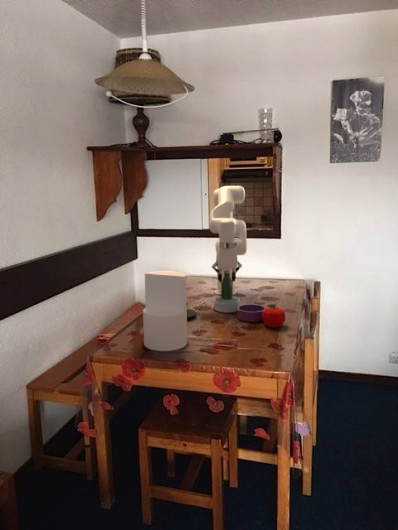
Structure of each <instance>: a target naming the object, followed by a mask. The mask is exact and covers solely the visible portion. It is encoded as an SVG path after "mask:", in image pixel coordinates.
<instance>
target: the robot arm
mask: <svg viewBox="0 0 398 530" xmlns="http://www.w3.org/2000/svg"><path fill="white" fill-rule="evenodd" d="M212 198H213V204H214V208H213V209H212V210H211V212H210V215H209V231H210V232H211V233H213V234H218V239H217V240H216V241H215V244H214V245H215V253H216V257H215V262H214V263H213V264H212V265H211V269H212V270H214V271H215V272H216V289H215V290H214V294H215V295H216V296H221V282H222V280H223V277H224V271H225V270H228V271H230V278H231V280H233V296H234V295H236V294H237V293H238V292H237V290H236V288H239V284H238V283H236V284H235V282H236V279H237V273H238V272H239V270H240V269H241V268H242V267H243V264H242V263H241V262H240V261H238V256H245V255H246V253H247V251H248V250H247V249H248V242H247V241H248V240H247V238H248V237H247V225H246V222H245V221H244V220H242V219H236V218H234V213H233V211H234V210H235V204H242V203H243V202H244V201H245V199H246V191H245V187H243V186H241V185H224V186H221V187H219V188H217V189H215V190H214V191H213V193H212Z"/></svg>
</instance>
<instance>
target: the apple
mask: <svg viewBox="0 0 398 530" xmlns="http://www.w3.org/2000/svg"><path fill="white" fill-rule="evenodd" d="M266 306H267V307H265V309H263V313H262V317H263V320H262V321H263V324H264V326H265V327H267V328H271V329H273V328H274V329H277V328H280V327H282V326H283V325H284V323H285V321H286V318H287V317H286V312H285V311H286V310H285V309H283V308H280V307H278V306H277V305H276V303H271V304H267V305H266Z"/></svg>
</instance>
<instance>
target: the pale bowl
mask: <svg viewBox="0 0 398 530" xmlns="http://www.w3.org/2000/svg"><path fill="white" fill-rule="evenodd" d="M239 306H241V299H240V298H238V297H235V296H233V299H231V300H223V299H221V296H218V297H215V298H214V299H213V310H215V311H217V312H219V313H223V314H225V313H226V314H228V313H229V314H231V313H235V312H238V307H239Z"/></svg>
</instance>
